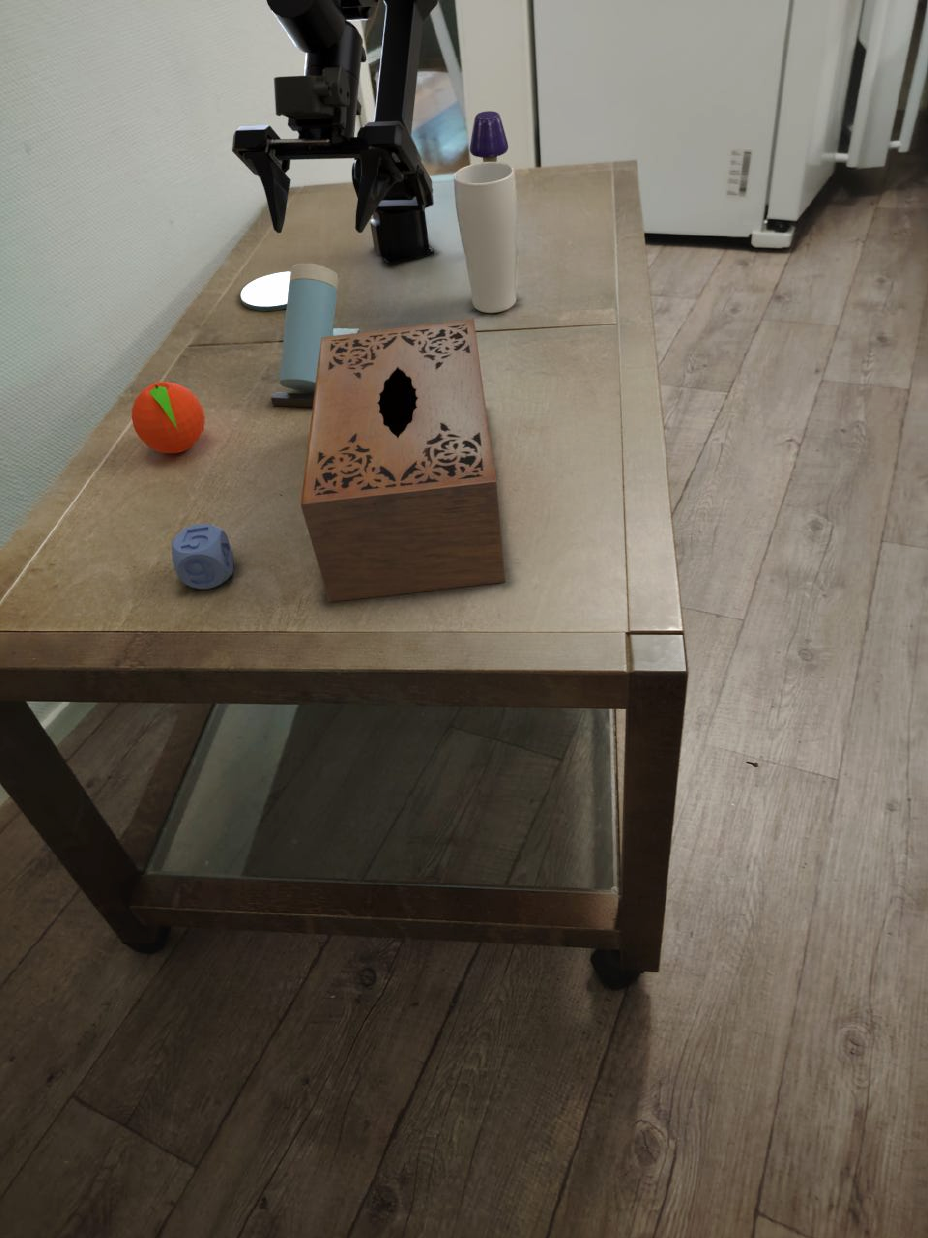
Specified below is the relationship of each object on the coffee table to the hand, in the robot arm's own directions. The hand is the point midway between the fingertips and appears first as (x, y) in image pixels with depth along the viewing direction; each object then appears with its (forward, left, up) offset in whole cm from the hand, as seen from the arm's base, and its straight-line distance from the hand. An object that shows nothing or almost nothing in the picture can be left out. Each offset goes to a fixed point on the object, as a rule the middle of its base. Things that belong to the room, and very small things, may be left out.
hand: (317, 231), depth 94 cm
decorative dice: (+22, +32, -13) cm, 41 cm away
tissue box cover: (+2, +31, -13) cm, 34 cm away
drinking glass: (-19, 0, -13) cm, 23 cm away
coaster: (+3, -19, -13) cm, 23 cm away
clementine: (+21, +11, -13) cm, 27 cm away
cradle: (+4, +6, -13) cm, 15 cm away
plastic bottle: (+4, +6, -13) cm, 15 cm away
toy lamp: (-25, -13, -13) cm, 31 cm away
